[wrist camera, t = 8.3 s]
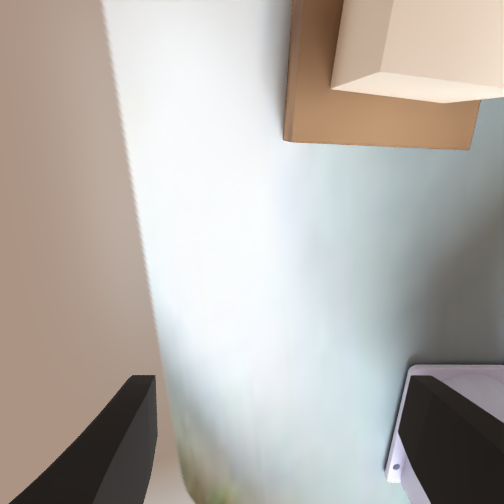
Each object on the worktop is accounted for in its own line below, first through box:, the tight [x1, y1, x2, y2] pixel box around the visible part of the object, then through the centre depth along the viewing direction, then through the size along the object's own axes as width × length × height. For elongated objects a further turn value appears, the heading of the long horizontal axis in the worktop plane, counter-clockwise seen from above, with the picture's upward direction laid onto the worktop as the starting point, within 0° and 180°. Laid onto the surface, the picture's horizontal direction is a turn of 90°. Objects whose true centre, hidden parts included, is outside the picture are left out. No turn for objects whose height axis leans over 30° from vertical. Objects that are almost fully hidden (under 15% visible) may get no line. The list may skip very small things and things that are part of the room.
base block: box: [283, 0, 481, 150], centre depth 16 cm, size 8×8×3 cm
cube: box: [330, 0, 504, 103], centre depth 12 cm, size 5×5×5 cm
